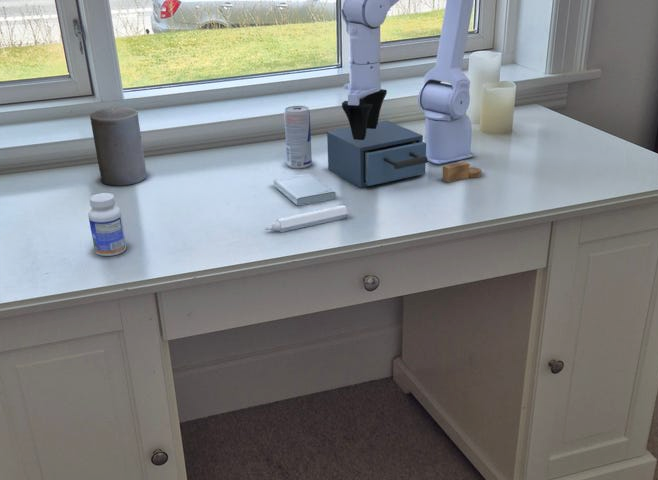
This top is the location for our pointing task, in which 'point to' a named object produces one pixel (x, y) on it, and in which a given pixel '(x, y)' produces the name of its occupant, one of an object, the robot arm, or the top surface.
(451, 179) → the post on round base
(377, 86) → the robot arm
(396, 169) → the drawer
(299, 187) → the hard drive
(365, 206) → the top surface
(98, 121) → the pillar candle
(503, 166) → the top surface
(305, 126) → the energy drink
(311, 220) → the marker
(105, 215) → the pill bottle
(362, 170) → the cabinet
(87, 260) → the top surface
